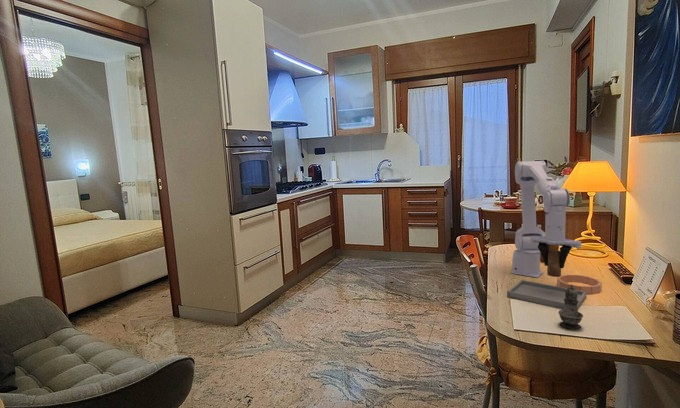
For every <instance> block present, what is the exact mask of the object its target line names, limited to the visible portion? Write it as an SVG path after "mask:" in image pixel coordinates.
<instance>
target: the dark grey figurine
mask: <svg viewBox="0 0 680 408" xmlns="http://www.w3.org/2000/svg"><path fill="white" fill-rule="evenodd" d="M572 285H573V284H571V287H568V288H566V290H565V299H564V301H565V307H564V309H560V310H558V315H559V318H560V320H561V322H559V326H560V327H561V328H562V329H564V328H565V330H567V331H580V330H581V329H582V326H581V325H580V323H581V321H582V320H583V319H582V318H584V314H583V313H581V312H580V311H579V309H578V310H577V303H579V301H578V300H577V290H576V289H575V288H573V286H572Z"/></svg>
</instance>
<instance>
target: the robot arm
mask: <svg viewBox="0 0 680 408" xmlns="http://www.w3.org/2000/svg"><path fill="white" fill-rule="evenodd" d="M514 166H515V167H514V179H515V183H516V184H518V185H519V188H520V202H521V217H522V218H521V219H522V226H520V228H518V229H517V230H516V231H515V233H514V234H515V237H514V245H515V246H514V247H515V248H516V249H514V251H513V253H512V263H511V264H512V267H511V268H512V269H511V274H514V275H520V276H526V277H532V278H539V277H540V276H541V275H542V274H544V270H541V261H540V253H541V254H542V257H543V260H544V266H545V267H547V263H548V250H549V246H550V245H559V251H560V256H561V260H560V268H561V269H565V263H566V260H567V258H568V256H569V254H570V252H571V250H572V249H573V248H575V249H580V248H582V241H580V240H574V239H568V238H566V222H567V221H566V215H567V214H566V213H567V207H569V205H570V201H571V199H570V198H571V196H570V192H569V190H568V189H567V188H563V187H562V188H561V187H560V185H559V184H558V183H557V182H556V181H555V179H554V178H553V177H550V176H548V174H547V170H548V169H547V162H545V160H530V161H529V160H527V161H526V160H525V161H517V162H516V163H515V165H514ZM535 186H536V187H537V190H538V191H539V193H540V194H541V195H542V203H543V211H544V212H545V216H544V217H545V218H544V219H545V221H544V222H545V223H544V225H545V226H544V228H545V229H544V230H545V231H544V230H542V229H541V228H540V227H538V226H537V213H536V212H537V211H536V195H535ZM544 232H545V237H544ZM560 246H561V247H560Z"/></svg>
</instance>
